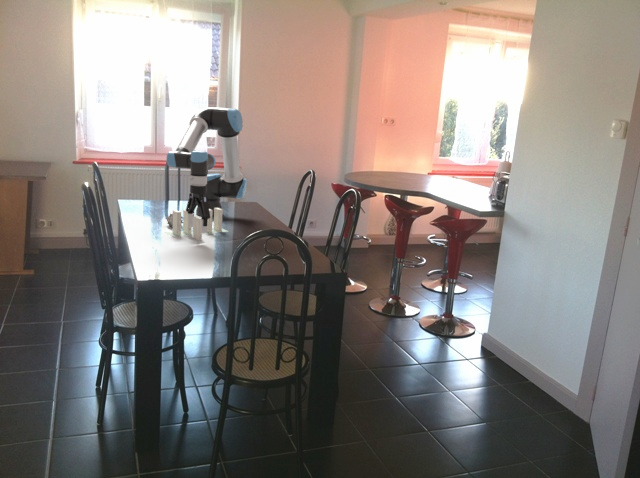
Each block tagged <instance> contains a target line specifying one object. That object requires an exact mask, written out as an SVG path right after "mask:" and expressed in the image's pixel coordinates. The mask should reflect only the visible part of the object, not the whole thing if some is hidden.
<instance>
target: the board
mask: <svg viewBox="0 0 640 478" xmlns="http://www.w3.org/2000/svg"><path fill="white" fill-rule="evenodd" d="M228 232H230V231H229V230H227V229H224V228H222V231H216V230H214V227H212V232H207V233H202V235H207V234H217V233H228ZM164 233H165V234H167V235H169V236H170V237H182V236H183V237H184V236H193V229H192V232H191V234H186V233H184V232H183V230H181V235H176V234H174V233H173V231H169V232H168V231H167V232H164Z"/></svg>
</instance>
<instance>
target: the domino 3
mask: <svg viewBox="0 0 640 478" xmlns="http://www.w3.org/2000/svg"><path fill="white" fill-rule="evenodd" d="M201 218H202V217H201V216H200V217H199V215H197V216H194V217H193V227H192V228H193V229H192V230H193V235H192V238H194V239H195V240H198V241H199V240H203V234H202V233H201Z"/></svg>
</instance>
